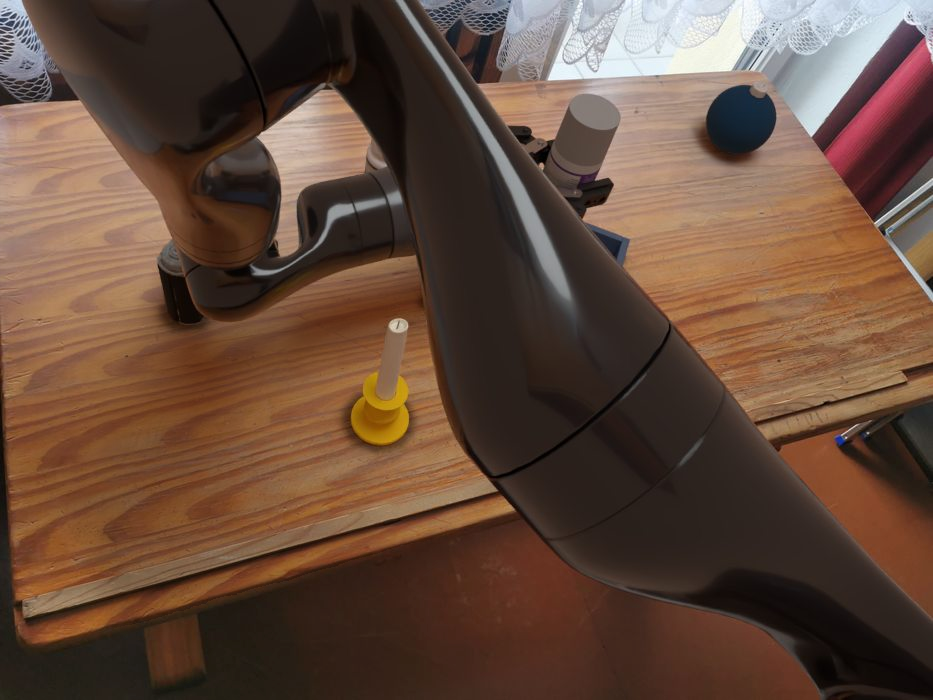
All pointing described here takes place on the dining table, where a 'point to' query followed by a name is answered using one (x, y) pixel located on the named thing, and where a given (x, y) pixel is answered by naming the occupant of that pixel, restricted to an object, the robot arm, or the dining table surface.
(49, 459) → the dining table surface
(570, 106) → the container
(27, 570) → the dining table surface
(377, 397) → the candle
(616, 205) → the dining table surface
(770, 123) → the christmas ornament
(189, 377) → the dining table surface
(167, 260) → the camera
